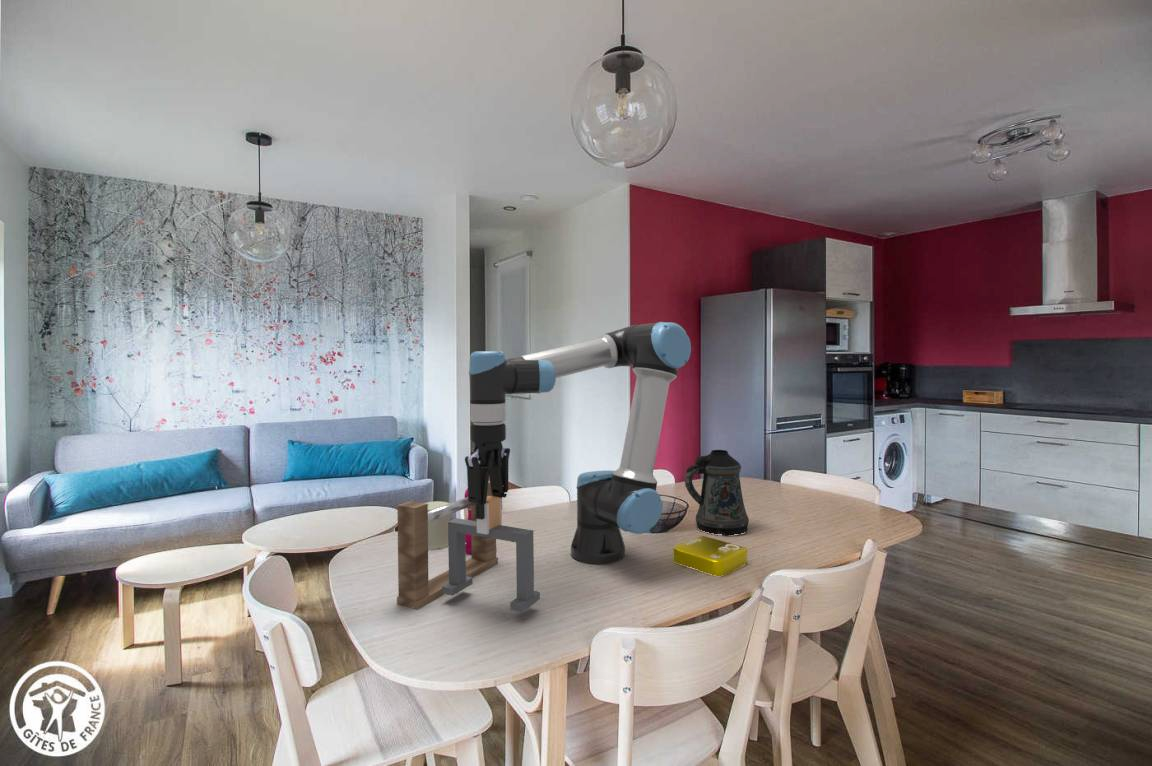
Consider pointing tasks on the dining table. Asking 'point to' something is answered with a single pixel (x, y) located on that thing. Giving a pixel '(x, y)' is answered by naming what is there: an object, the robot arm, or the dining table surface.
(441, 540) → the can
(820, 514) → the dining table surface
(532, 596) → the grey arch gate
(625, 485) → the robot arm
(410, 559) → the rack
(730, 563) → the element tile
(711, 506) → the beer stein
